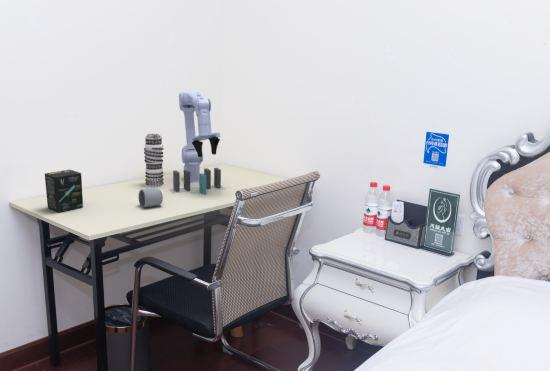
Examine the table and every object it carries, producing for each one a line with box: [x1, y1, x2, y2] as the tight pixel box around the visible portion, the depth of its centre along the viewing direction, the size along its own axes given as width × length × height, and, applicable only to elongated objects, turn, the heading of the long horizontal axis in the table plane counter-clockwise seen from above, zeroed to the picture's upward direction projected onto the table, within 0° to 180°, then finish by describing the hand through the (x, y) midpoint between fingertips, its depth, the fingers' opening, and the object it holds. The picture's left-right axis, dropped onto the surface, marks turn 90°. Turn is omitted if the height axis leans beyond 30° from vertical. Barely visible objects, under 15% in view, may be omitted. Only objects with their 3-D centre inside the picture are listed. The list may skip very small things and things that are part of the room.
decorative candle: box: [143, 133, 165, 189], centre depth 247 cm, size 9×9×25 cm
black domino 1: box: [172, 170, 181, 192], centre depth 241 cm, size 2×5×9 cm, turn 26°
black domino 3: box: [203, 167, 212, 189], centre depth 248 cm, size 2×5×9 cm, turn 26°
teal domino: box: [198, 172, 207, 195], centre depth 239 cm, size 2×5×9 cm, turn 26°
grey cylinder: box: [138, 188, 164, 209], centre depth 218 cm, size 11×8×8 cm
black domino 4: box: [213, 167, 222, 190], centre depth 250 cm, size 2×5×9 cm, turn 26°
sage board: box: [167, 184, 227, 194], centre depth 247 cm, size 8×26×1 cm, turn 116°
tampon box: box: [44, 169, 84, 214], centre depth 210 cm, size 11×9×15 cm
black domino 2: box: [183, 169, 191, 191], centre depth 243 cm, size 2×5×9 cm, turn 26°
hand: (207, 155), depth 233 cm, fingers open, 7 cm apart
